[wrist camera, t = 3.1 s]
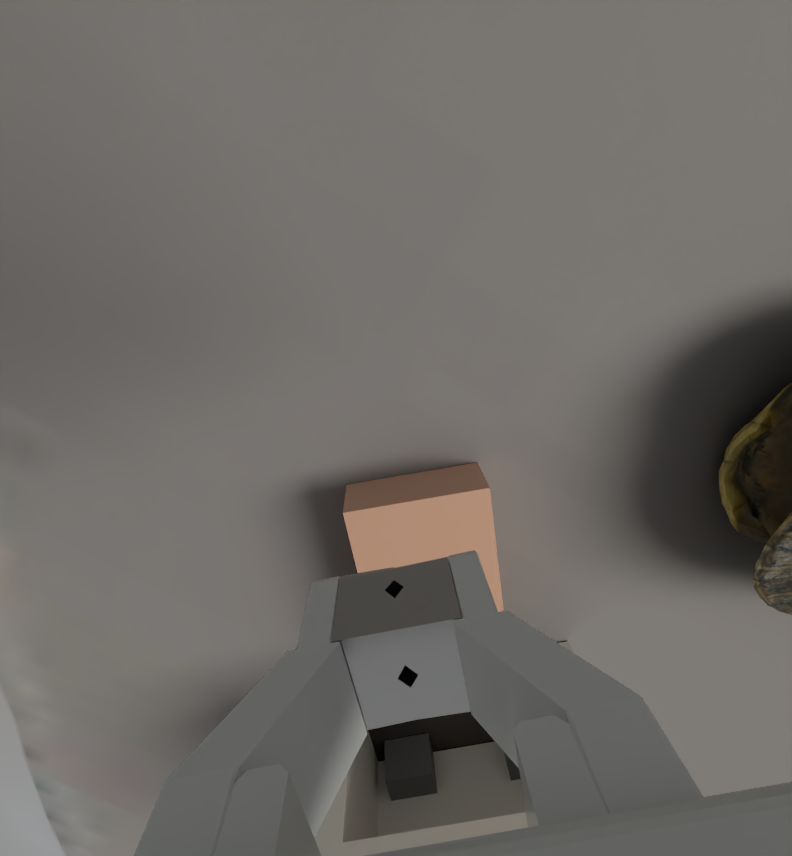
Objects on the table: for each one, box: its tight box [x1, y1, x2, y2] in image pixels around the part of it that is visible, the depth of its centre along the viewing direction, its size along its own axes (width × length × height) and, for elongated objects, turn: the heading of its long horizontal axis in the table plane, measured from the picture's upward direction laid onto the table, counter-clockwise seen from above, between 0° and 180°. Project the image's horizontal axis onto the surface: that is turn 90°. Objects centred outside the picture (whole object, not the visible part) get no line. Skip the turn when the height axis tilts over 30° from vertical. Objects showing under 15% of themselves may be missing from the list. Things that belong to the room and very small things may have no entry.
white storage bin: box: [316, 641, 574, 856], centre depth 24 cm, size 8×14×9 cm, turn 101°
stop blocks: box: [385, 733, 521, 801], centre depth 28 cm, size 2×10×2 cm, turn 101°
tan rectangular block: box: [343, 462, 504, 612], centre depth 23 cm, size 9×6×3 cm
